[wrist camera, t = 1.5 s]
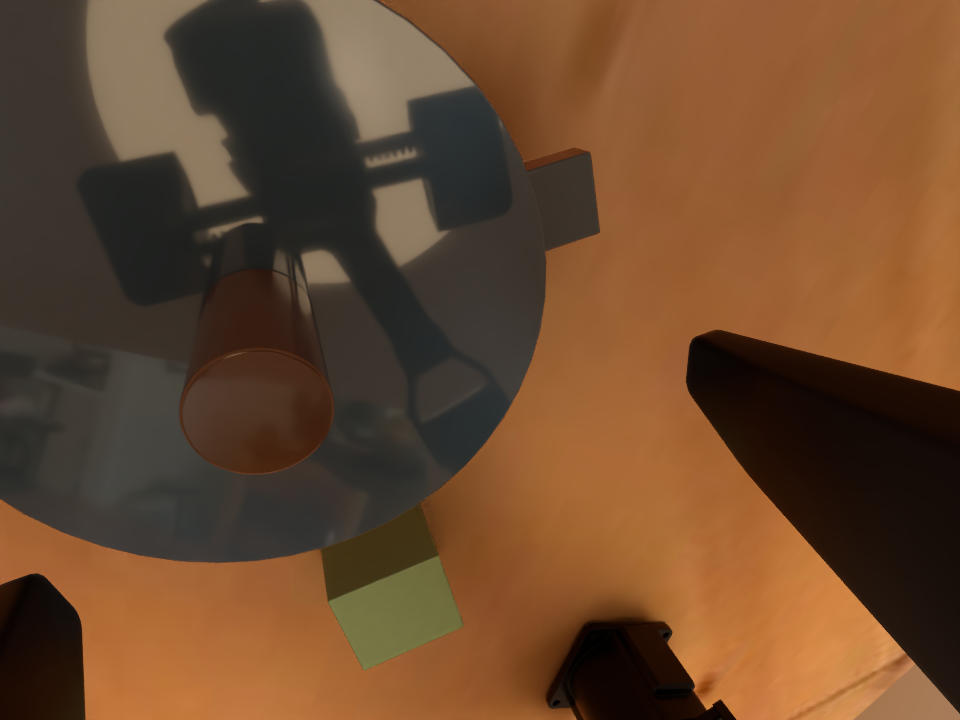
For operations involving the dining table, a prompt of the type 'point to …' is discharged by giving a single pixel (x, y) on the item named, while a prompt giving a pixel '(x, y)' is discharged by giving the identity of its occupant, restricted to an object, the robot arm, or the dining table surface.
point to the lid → (250, 271)
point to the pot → (565, 196)
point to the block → (390, 589)
